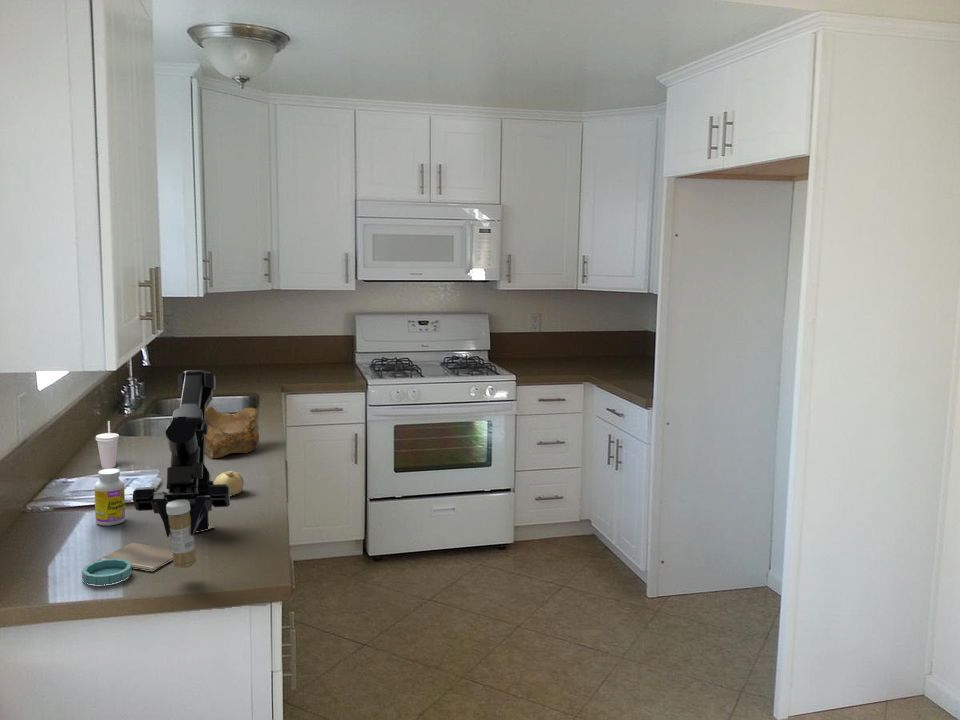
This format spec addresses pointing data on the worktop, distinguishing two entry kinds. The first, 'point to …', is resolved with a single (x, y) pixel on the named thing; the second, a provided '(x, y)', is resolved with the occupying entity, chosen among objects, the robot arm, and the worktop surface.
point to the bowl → (106, 571)
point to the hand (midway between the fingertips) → (179, 535)
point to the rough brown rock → (231, 432)
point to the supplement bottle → (109, 498)
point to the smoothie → (107, 448)
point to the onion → (231, 481)
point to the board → (142, 555)
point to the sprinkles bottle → (181, 533)
